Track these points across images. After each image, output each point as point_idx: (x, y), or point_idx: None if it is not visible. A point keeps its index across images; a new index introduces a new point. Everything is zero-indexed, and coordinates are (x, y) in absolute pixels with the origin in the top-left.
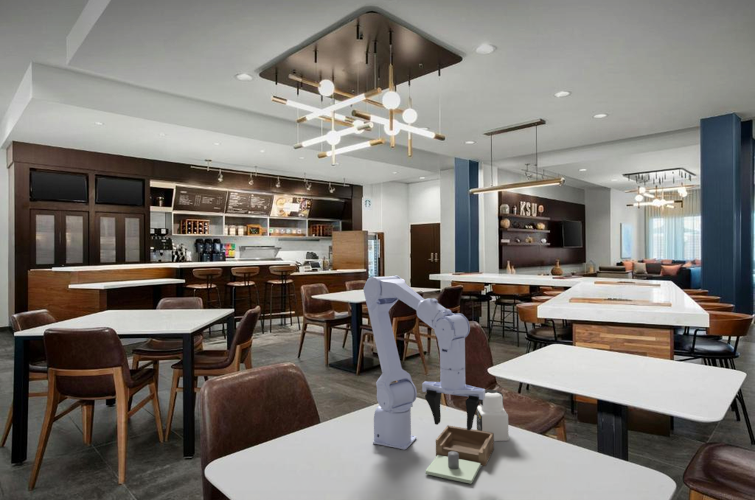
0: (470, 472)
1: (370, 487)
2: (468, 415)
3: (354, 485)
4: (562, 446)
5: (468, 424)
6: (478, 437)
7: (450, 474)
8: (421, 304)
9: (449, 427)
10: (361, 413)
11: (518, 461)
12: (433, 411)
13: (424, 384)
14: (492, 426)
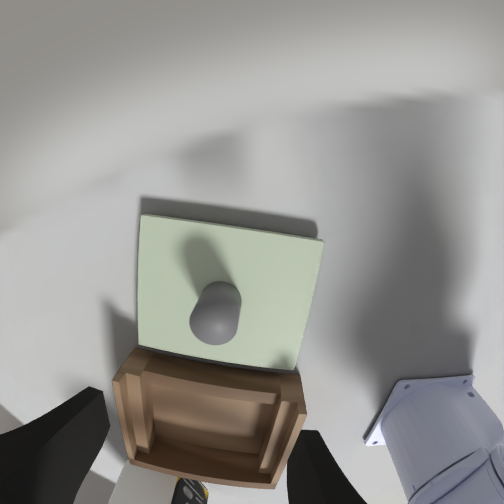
0: (153, 273)
1: (461, 125)
2: (37, 439)
3: (492, 133)
4: None
5: (73, 404)
6: (174, 457)
7: (221, 237)
8: None
9: (267, 482)
10: None
11: (73, 380)
12: (343, 494)
13: None
14: (149, 488)
